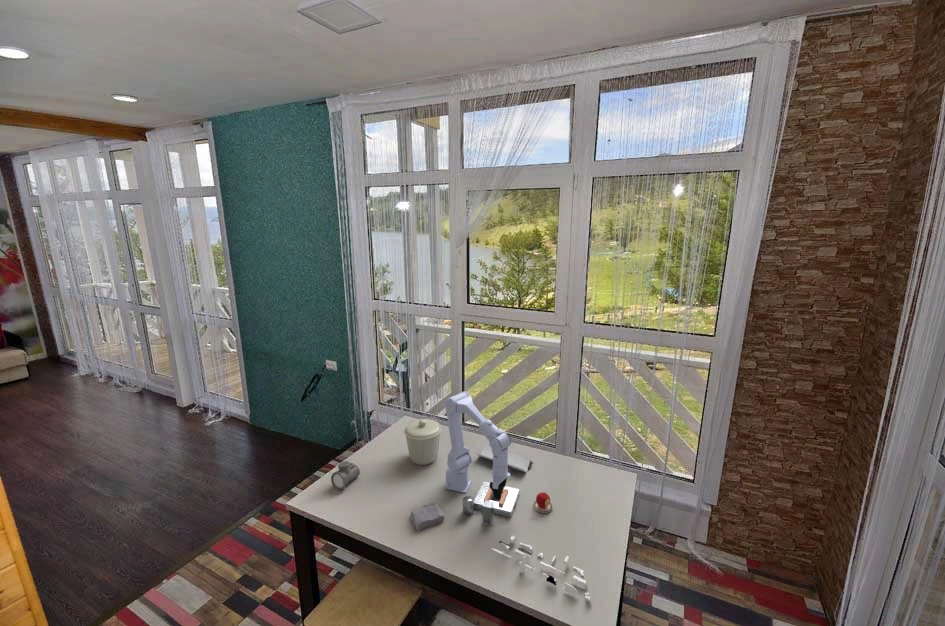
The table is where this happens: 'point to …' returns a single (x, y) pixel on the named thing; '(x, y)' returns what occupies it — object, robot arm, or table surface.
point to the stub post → (468, 506)
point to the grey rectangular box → (488, 512)
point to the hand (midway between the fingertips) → (499, 492)
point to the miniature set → (568, 588)
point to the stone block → (426, 516)
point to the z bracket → (513, 459)
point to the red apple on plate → (543, 503)
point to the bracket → (501, 502)
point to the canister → (423, 440)
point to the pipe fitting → (344, 474)
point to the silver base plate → (502, 510)
